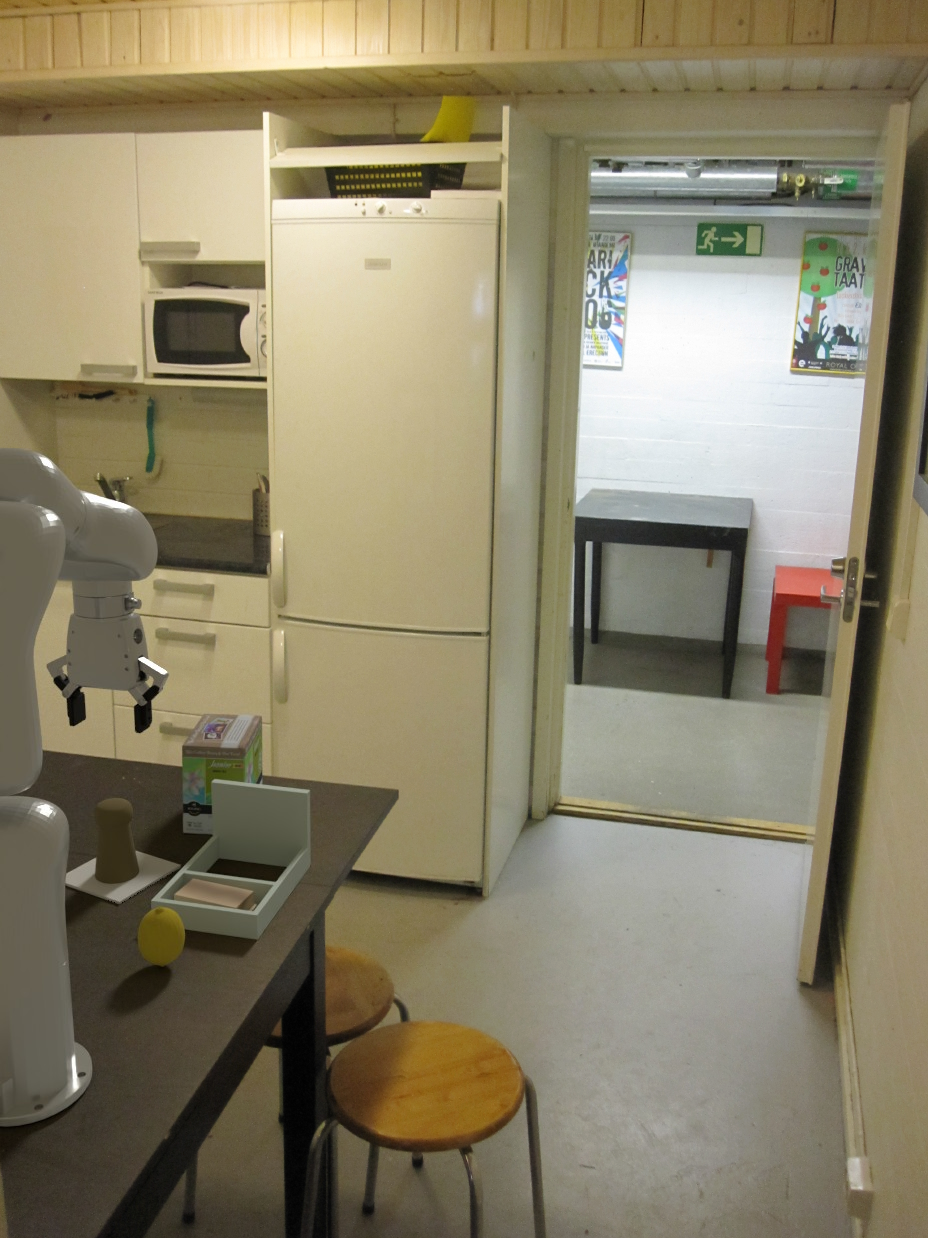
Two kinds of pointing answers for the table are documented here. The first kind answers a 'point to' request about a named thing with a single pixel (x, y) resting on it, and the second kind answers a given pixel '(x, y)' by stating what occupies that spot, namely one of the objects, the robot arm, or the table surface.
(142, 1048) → the table surface
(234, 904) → the offcut upper
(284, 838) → the rack
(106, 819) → the cork
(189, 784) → the tea box
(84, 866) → the mat
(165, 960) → the lemon
